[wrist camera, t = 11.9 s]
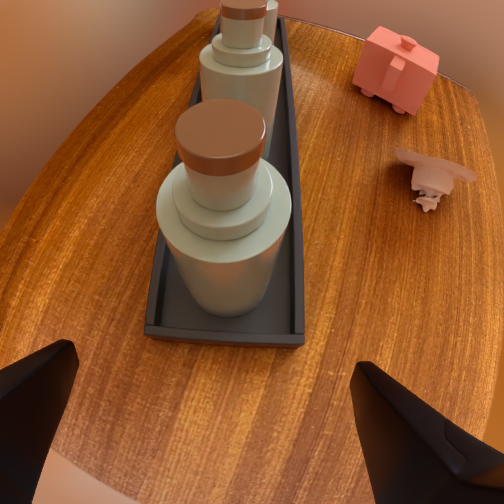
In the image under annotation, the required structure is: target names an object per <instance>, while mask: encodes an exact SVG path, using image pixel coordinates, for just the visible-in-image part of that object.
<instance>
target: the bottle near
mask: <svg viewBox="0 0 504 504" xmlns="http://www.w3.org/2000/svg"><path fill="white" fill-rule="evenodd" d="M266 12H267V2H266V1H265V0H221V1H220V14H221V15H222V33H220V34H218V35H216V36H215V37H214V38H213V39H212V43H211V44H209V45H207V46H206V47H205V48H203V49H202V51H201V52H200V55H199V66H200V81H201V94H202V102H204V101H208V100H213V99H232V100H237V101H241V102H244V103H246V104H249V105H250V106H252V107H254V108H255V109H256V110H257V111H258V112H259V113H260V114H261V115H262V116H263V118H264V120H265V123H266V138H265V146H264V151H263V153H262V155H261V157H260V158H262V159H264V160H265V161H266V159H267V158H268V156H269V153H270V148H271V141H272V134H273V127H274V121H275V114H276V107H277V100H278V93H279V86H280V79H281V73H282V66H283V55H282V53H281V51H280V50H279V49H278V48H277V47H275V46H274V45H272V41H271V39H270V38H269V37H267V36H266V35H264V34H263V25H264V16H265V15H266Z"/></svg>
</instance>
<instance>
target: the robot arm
mask: <svg viewBox="0 0 504 504" xmlns="http://www.w3.org/2000/svg"><path fill="white" fill-rule="evenodd" d="M78 368H79V359H78V356H77V353H76V349H75V346H74V343H73V342H72V341H70V340H66V339H60V340H58V341H56V342H54V343H52V344H50V345H48V346H46V347H44V348H42V349H40V350H38V351H36V352H35V353H33V354H31V355H29V356H27V357H25V358H23V359H21V360H19V361H17V362H15V363H13V364H11V365H9V366H7V367H5V368H3V369H1V370H0V504H32V502H31V501H32V500H33V497H34V494H35V490H36V487H37V484H38V481H39V478H40V475H41V472H42V469H43V466H44V463H45V460H46V457H47V454H48V452H49V449H50V446H51V443H52V441H53V438H54V435H55V433H56V430H57V428H58V425H59V423H60V420H61V418H62V415H63V413H64V410H65V408H66V405H67V403H68V400H69V396H70V393H71V390H72V386H73V383H74V380H75V377H76V374H77V371H78ZM350 390H351V396H352V403H353V409H354V416H355V423H356V428H357V432H358V436H359V440H360V443H361V447H362V451H363V455H364V458H365V462H366V466H367V470H368V474H369V478H370V482H371V486H372V490H373V495H374V499H375V503H376V504H504V454H503V453H501V452H499V451H498V450H496V449H494V448H492V447H491V446H489V445H487V444H485V443H484V442H482V441H480V440H479V439H477V438H475V437H474V436H472V435H470V434H469V433H467V432H466V431H464V430H463V429H461V428H460V427H458V426H457V425H455V424H454V423H453V422H451V421H450V420H449V419H447V418H446V419H445V417H444V416H443V415H442V414H440V413H439V412H438V411H436V410H435V409H434V408H432V407H431V406H429V405H428V404H427V403H425V402H424V401H423V400H421V399H420V398H419V397H417V396H416V395H415V394H413V393H412V392H411V391H409V390H408V389H407V388H405V387H404V386H403V385H401V384H400V383H399V382H397V381H396V380H395V379H393V378H392V377H391V376H389V375H388V374H387V373H385V372H384V371H383V370H381V369H380V368H379V367H377V366H376V365H375V364H373V363H372V362H371V361H359V362H357V364H356V366H355V369H354V372H353V375H352V378H351V381H350Z"/></svg>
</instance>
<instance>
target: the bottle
mask: <svg viewBox="0 0 504 504" xmlns="http://www.w3.org/2000/svg"><path fill="white" fill-rule="evenodd" d="M265 138H266V123H265V120H264V118H263V116H262V115H261V114H260V113H259V112H258V111H257V110H256V109H255V108H254V107H252V106H250V105H249V104H246V103H244V102H241V101H237V100H232V99H213V100H208V101H204V102H201V103H198V104H196V105H194V106H192V107H190V108H189V109H188V110H186V111H185V112H184V113H183V114H182V115H181V116H180V118H179V119H178V121H177V123H176V126H175V140H176V145H177V150H178V154H179V156H180V158H181V160H182V161H183V162H182V163H180V164H179V165H177V166H176V167H175V168H174V169H173V170H172V171H171V172H170V173H169V174H168V176H167V177H166V178H165V180H164V182H163V183H162V185H161V187H160V190H159V192H158V196H157V201H156V215H157V221H158V224H159V227H160V229H161V231H162V234H163V236H164V238H165V241H166V243H167V245H168V247H169V250H170V252H171V254H172V256H173V259H174V261H175V263H176V265H177V267H178V270H179V272H180V274H181V276H182V278H183V280H184V282H185V285H186V287H187V289H188V291H189V293H190V295H191V297H192V299H193V300H194V302H195V303H196V304H197V305H198V306H199V307H200V308H201V309H202V310H204V311H205V312H207V313H209V314H211V315H214V316H217V317H223V318H232V317H238V316H241V315H244V314H246V313H248V312H250V311H251V310H253V309H254V308H255V307H256V306H257V305H258V304H259V303H260V302H261V300H262V299H263V297H264V295H265V293H266V291H267V288H268V285H269V282H270V279H271V275H272V272H273V269H274V266H275V263H276V260H277V257H278V254H279V251H280V248H281V245H282V241H283V238H284V235H285V232H286V229H287V226H288V222H289V219H290V215H291V204H292V203H291V196H290V192H289V189H288V186H287V184H286V182H285V180H284V179H283V177H282V176H281V174H280V173H279V172H278V171H277V170H276V169H275V168H274V167H273V166H272V165H271V164H269V163H268V162H267V161H265V160H264V159H262V158H260V157H261V155H262V153H263V151H264V146H265Z"/></svg>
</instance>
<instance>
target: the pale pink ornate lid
mask: <svg viewBox="0 0 504 504" xmlns="http://www.w3.org/2000/svg"><path fill="white" fill-rule="evenodd" d="M392 152H393V153H394V154H396V155H397V156H398V159H399V161H401V162H403V163H405V164H407V165H410V166H412V167H414V170H413V175H412V180H411V183H412V187H411V188H412V190H420V192H419V195H423V194H426V196H425V197H424V196H423V197H418V198H417V199H416V203H419V204H421V205H422V206H423V208H422V209H423V211H424V212H427V211H428V210H429V209H433V210H436V206H437V202H440V197H441V196H442V195H443V194H448V195H449V194H450V192H451V190H452V189H454V183H453V179H456V180H460V181H464V182H467V183H471V182H473V181H478V178H477V174H475V172H474V171H472V170H468V168H464V167H462V166H461V165H459V164H456V163H452V162H450V161H447V160H446V159H445V160H443V159H442V158H434V157H428V156H424V155H421V154H418V153H416V152H414V151H408V150H407V149H401V148H399V147H398V148H397V147H396V146H395V150H394V151H392ZM432 196H437V197H435V198H433V197H432ZM426 197H429V198H430V199H429V198H426ZM431 197H432V198H433V199H432V198H431ZM413 202H415V200H413Z"/></svg>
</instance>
